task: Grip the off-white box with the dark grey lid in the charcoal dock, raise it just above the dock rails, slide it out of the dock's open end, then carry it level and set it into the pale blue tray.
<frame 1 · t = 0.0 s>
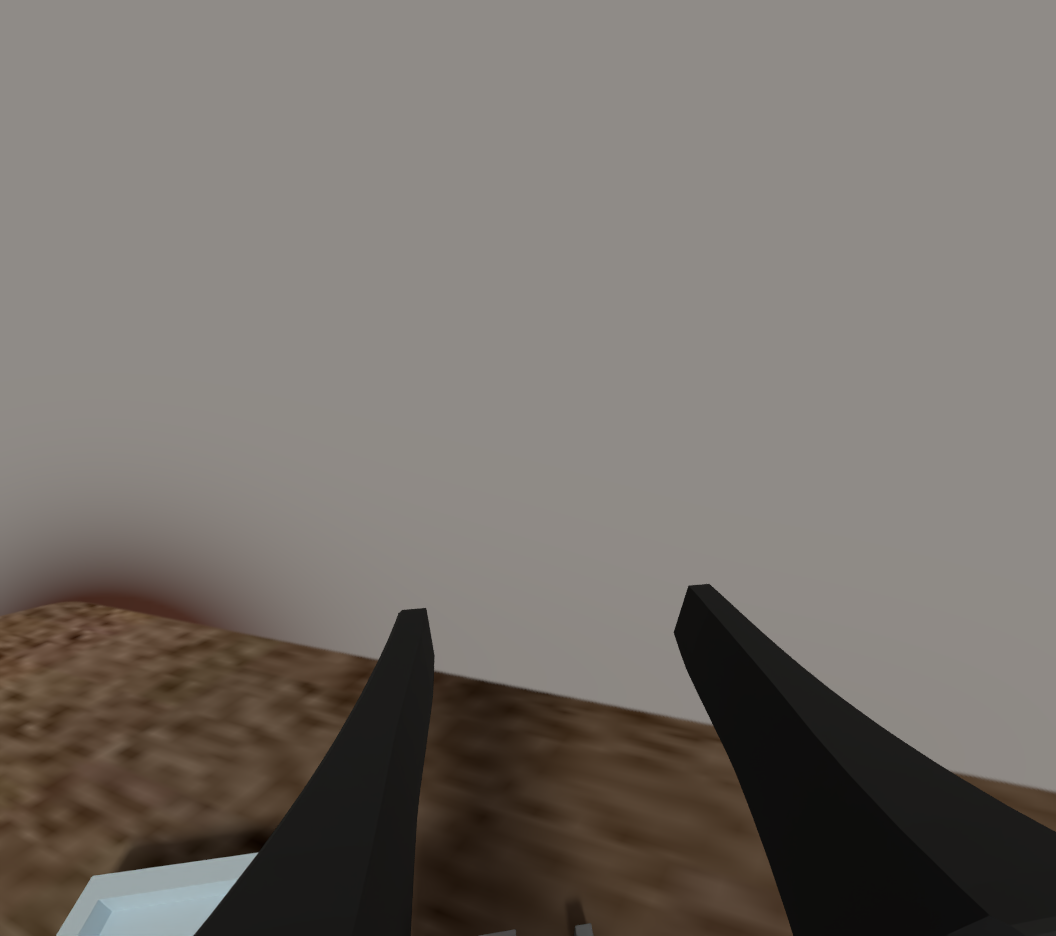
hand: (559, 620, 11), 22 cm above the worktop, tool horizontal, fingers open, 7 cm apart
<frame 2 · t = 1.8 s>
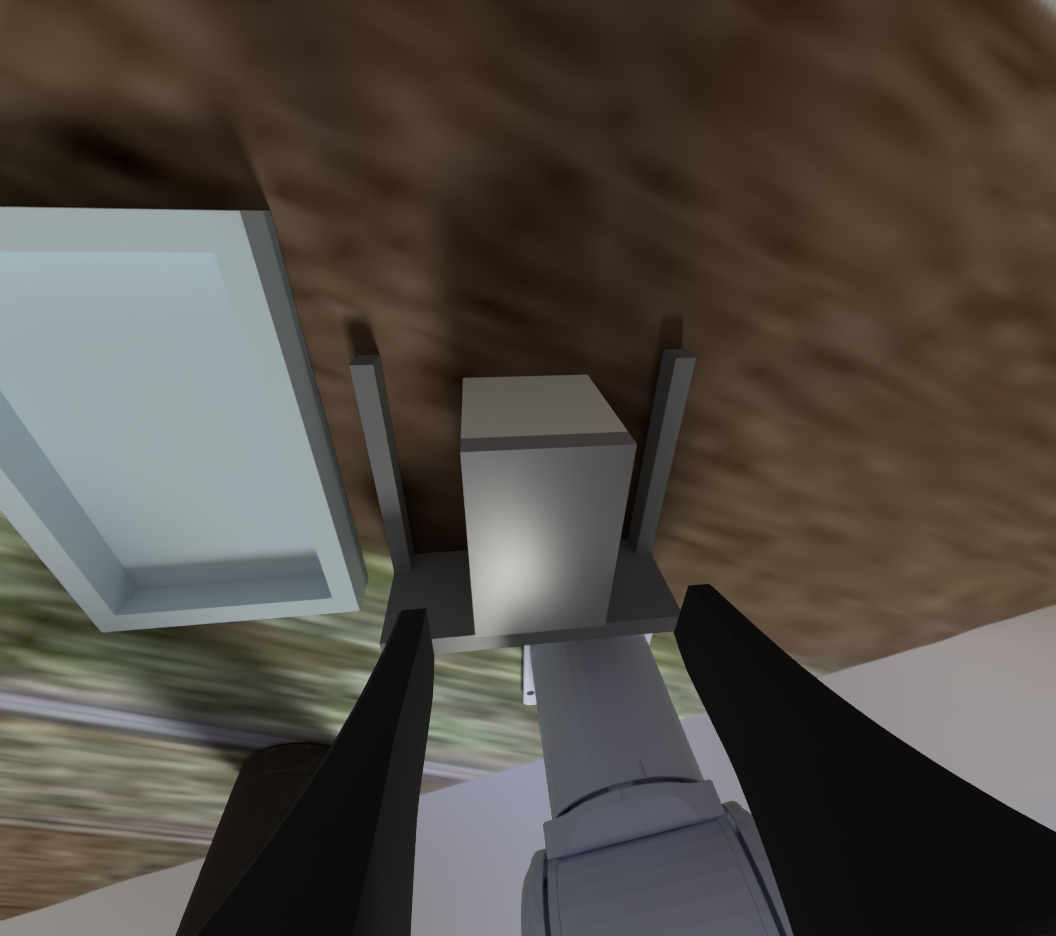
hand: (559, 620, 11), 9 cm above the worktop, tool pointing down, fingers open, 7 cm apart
bay: (525, 472, 19), on the worktop
container: (305, 767, 31), on the worktop
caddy: (524, 460, 19), on the worktop
tray: (186, 446, 16), on the worktop
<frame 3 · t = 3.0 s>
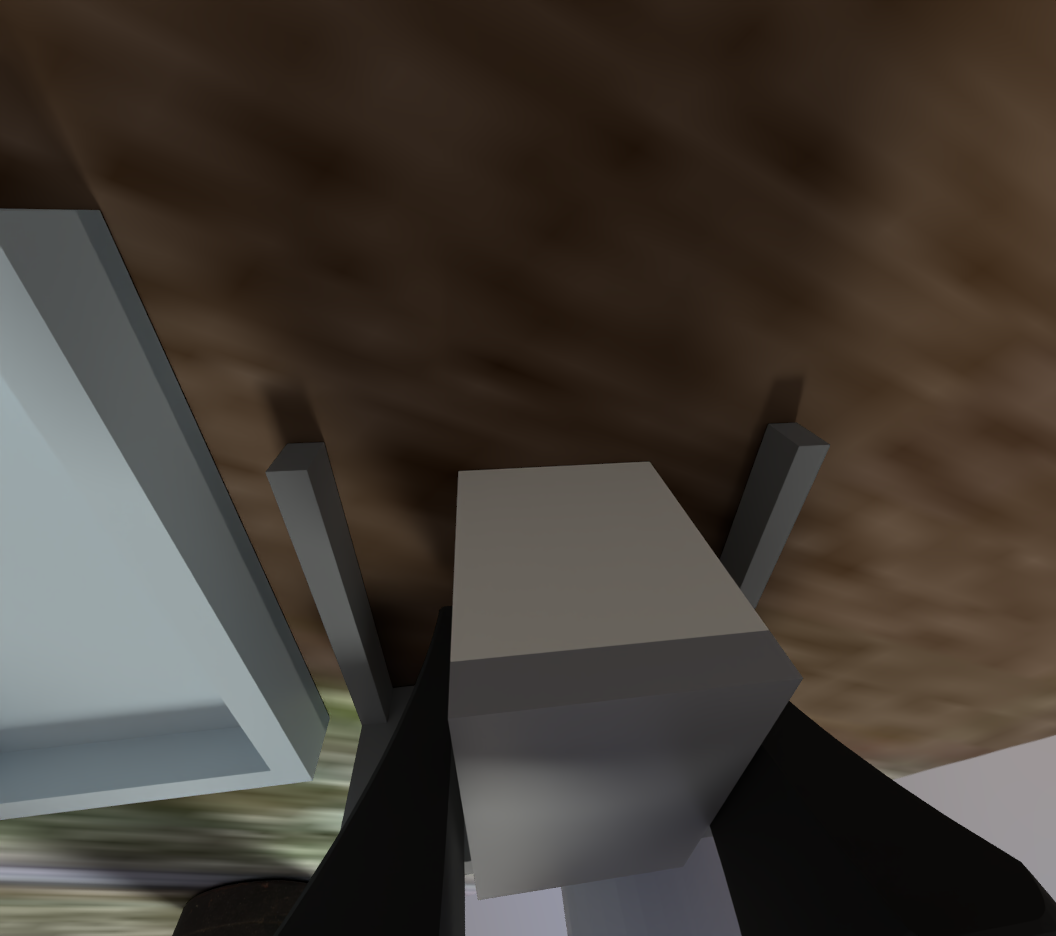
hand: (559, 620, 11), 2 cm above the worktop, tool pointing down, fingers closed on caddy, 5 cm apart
bay: (549, 588, 13), on the worktop
container: (266, 897, 25), on the worktop
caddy: (549, 576, 13), on the worktop, touching gripper
tray: (28, 577, 11), on the worktop
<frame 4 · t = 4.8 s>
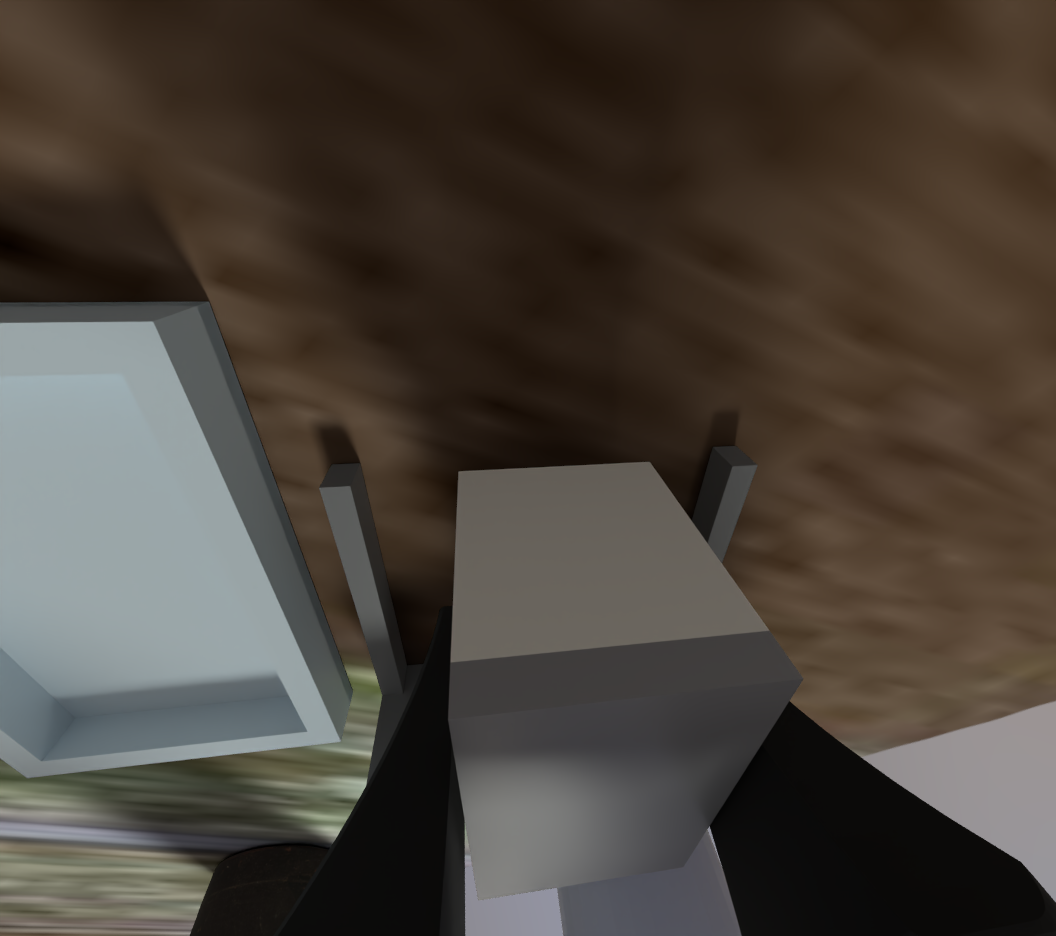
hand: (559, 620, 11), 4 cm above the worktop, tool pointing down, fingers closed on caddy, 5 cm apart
bay: (539, 580, 16), on the worktop
container: (287, 863, 27), on the worktop
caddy: (549, 576, 13), point 2 cm above the worktop, touching gripper
tray: (121, 569, 13), on the worktop
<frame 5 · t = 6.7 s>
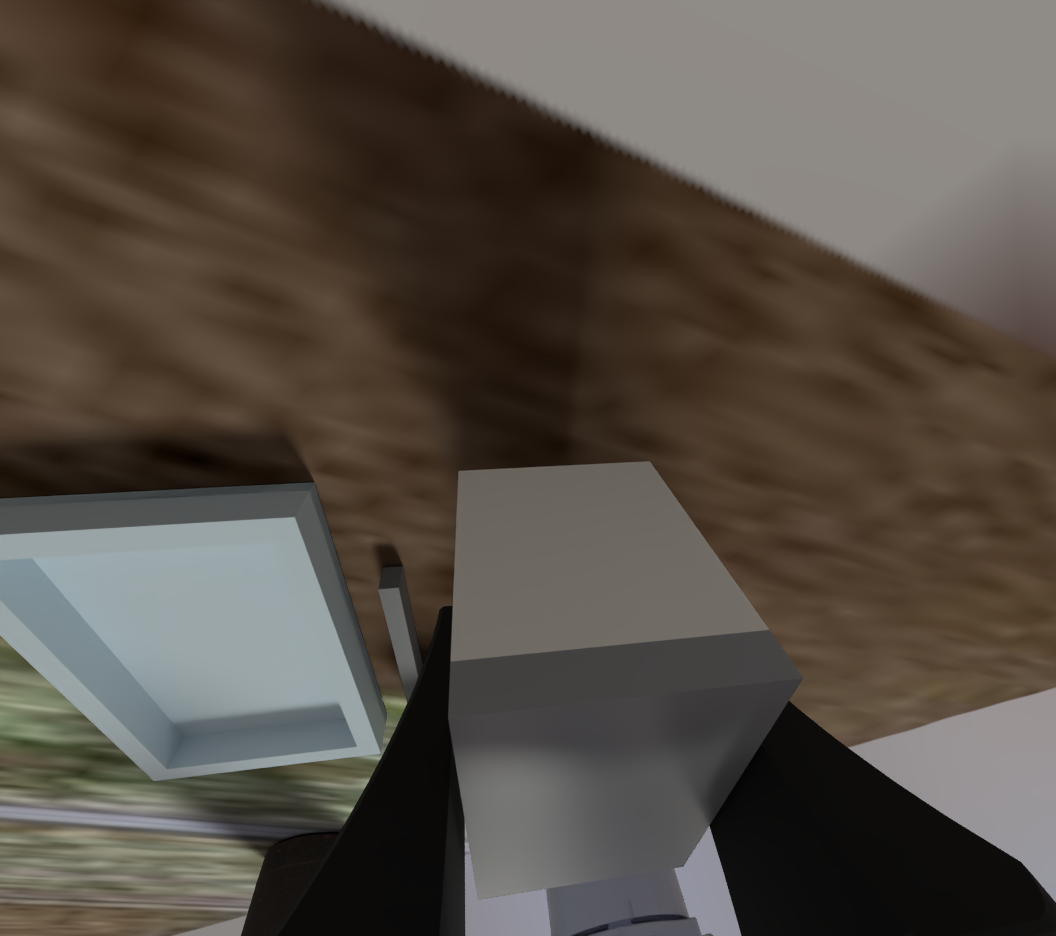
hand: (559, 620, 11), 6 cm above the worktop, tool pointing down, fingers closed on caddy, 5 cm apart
bay: (528, 634, 21), on the worktop
container: (323, 848, 33), on the worktop
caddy: (549, 575, 13), point 4 cm above the worktop, touching gripper
tray: (232, 635, 19), on the worktop
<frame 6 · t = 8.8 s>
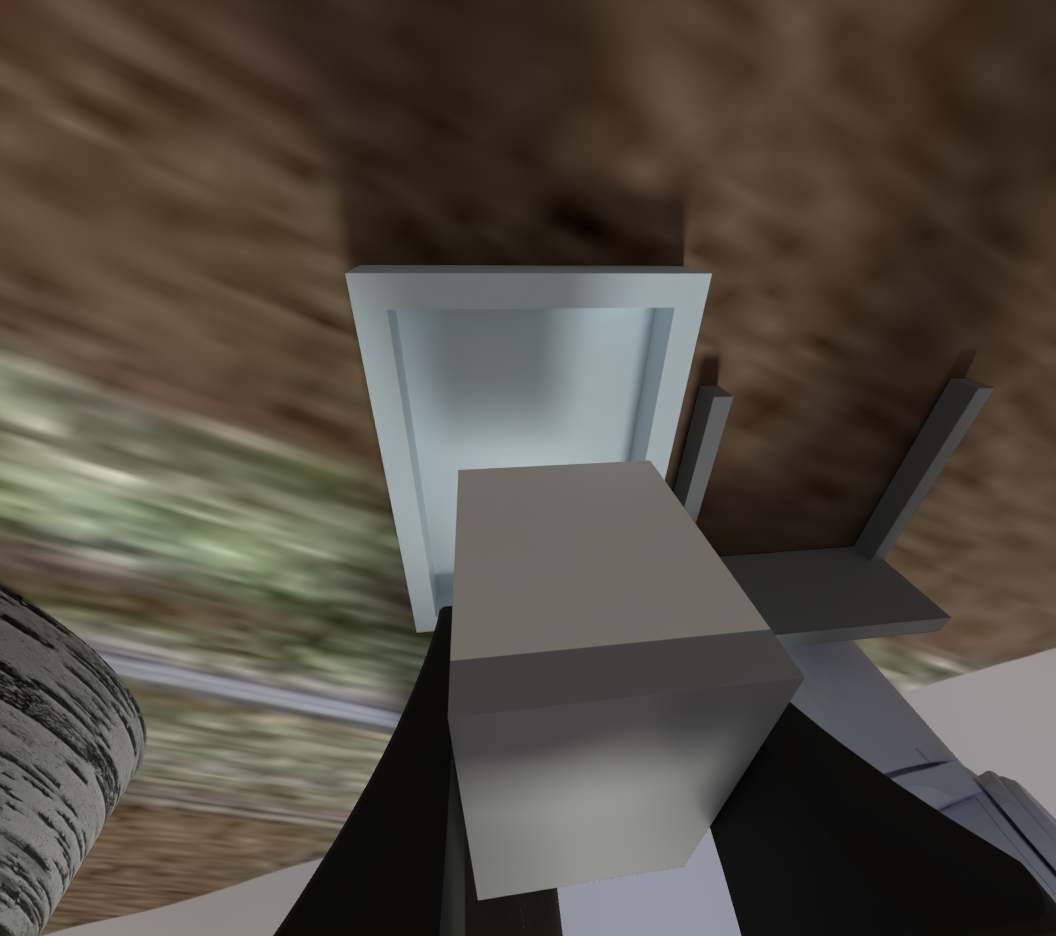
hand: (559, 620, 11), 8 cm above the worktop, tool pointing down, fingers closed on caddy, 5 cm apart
bay: (792, 486, 21), on the worktop
container: (489, 758, 33), on the worktop
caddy: (549, 575, 13), point 6 cm above the worktop, touching gripper
tray: (526, 466, 18), on the worktop
when the fingers open (3 cm above the worktop, at t = 10.4 s): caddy stays where it is, resting on tray.
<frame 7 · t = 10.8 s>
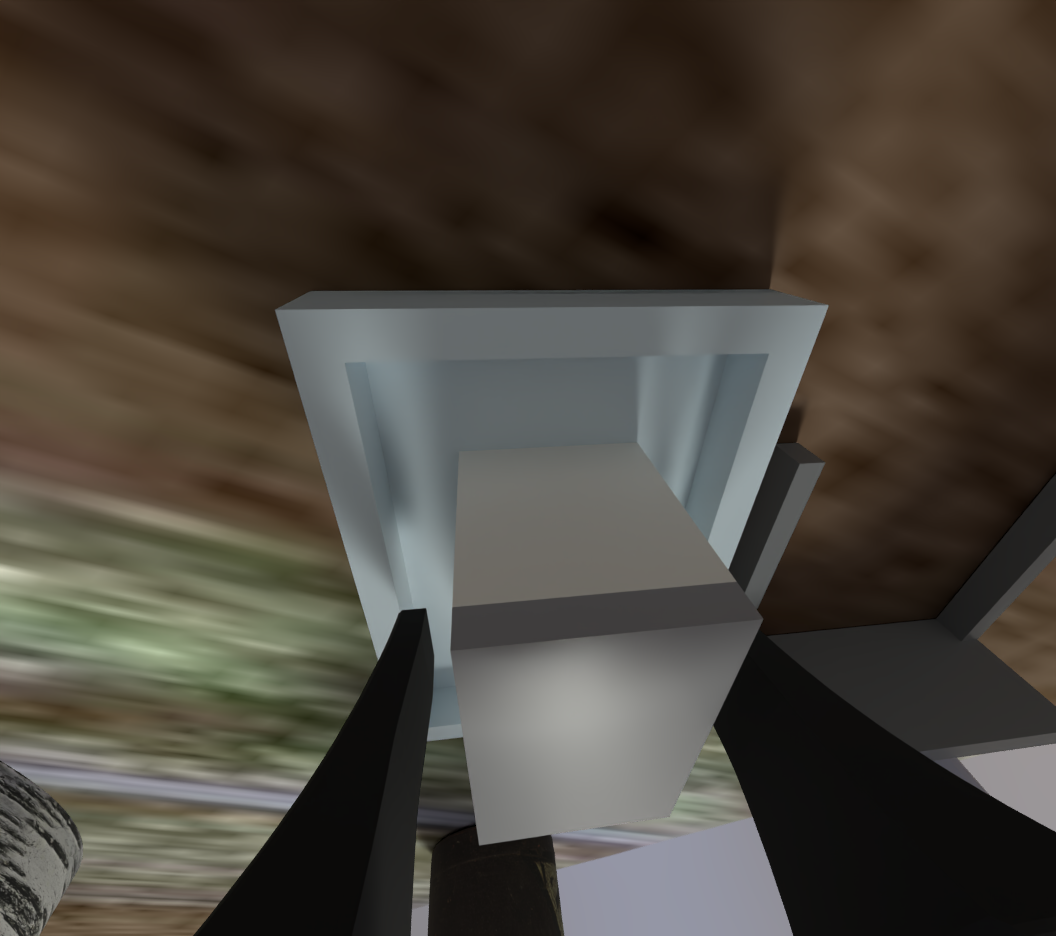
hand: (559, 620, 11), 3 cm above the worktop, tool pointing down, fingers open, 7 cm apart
bay: (874, 557, 17), on the worktop
container: (492, 840, 28), on the worktop
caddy: (545, 553, 14), resting on tray
tray: (542, 543, 14), on the worktop
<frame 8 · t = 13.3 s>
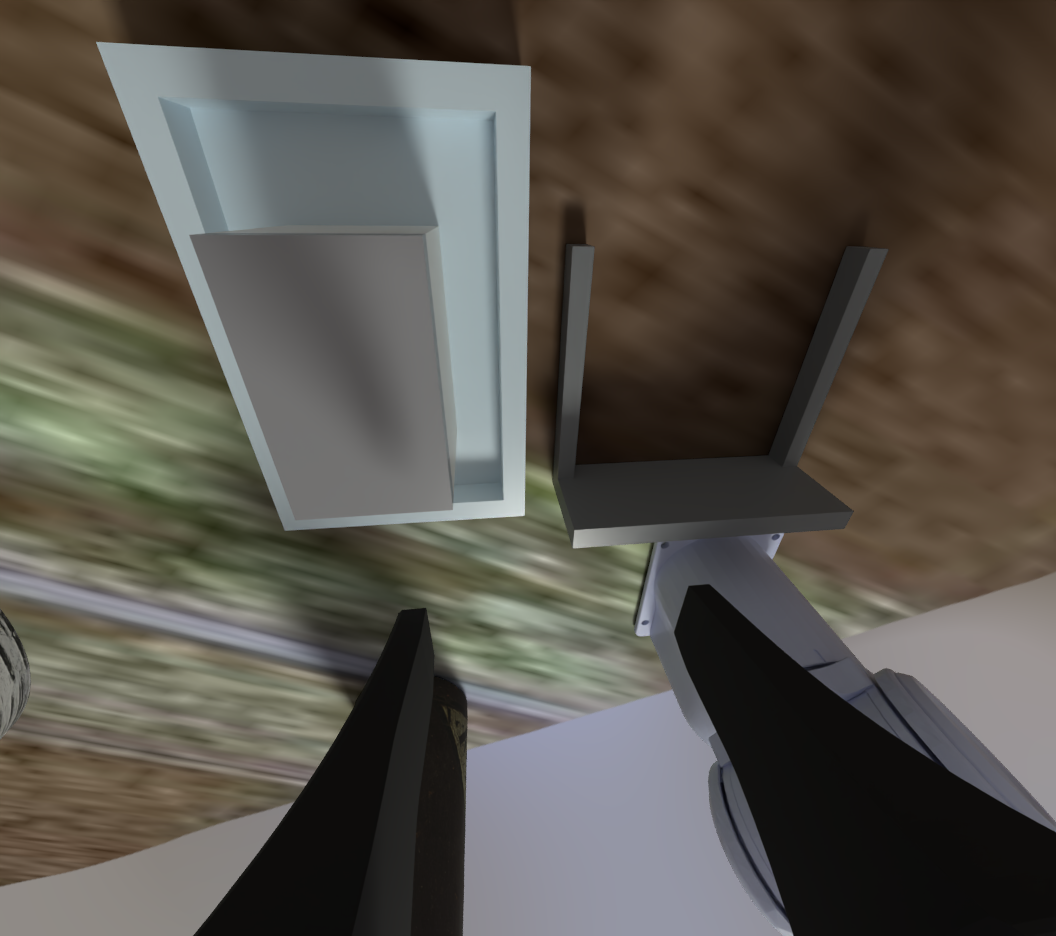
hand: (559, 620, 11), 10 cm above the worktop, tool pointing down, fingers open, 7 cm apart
bay: (690, 377, 19), on the worktop
container: (412, 702, 31), on the worktop
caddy: (385, 341, 16), resting on tray
tray: (387, 339, 17), on the worktop
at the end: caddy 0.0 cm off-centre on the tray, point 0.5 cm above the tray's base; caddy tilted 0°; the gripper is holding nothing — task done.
